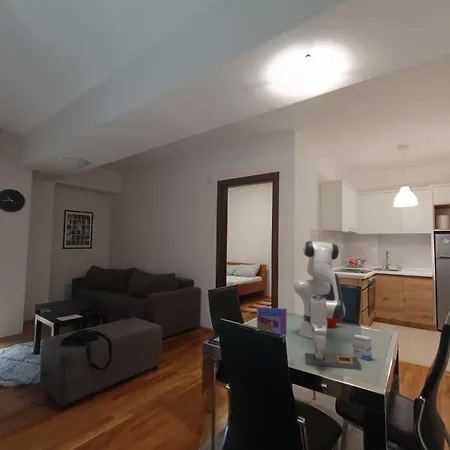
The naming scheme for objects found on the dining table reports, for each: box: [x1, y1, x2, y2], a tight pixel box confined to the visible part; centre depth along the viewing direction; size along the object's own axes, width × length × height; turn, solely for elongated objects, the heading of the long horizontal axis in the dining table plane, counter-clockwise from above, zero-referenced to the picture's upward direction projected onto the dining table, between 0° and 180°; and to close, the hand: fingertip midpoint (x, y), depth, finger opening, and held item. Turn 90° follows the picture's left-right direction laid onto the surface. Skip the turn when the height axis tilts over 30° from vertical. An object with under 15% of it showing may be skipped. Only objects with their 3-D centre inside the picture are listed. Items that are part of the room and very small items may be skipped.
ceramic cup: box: [327, 317, 344, 329], centre depth 231 cm, size 13×17×10 cm
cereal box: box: [256, 307, 287, 336], centre depth 179 cm, size 17×5×24 cm, turn 82°
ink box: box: [352, 334, 373, 362], centre depth 167 cm, size 9×5×12 cm, turn 45°
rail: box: [304, 353, 362, 371], centre depth 158 cm, size 10×27×3 cm, turn 79°
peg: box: [314, 342, 324, 360], centre depth 159 cm, size 4×4×10 cm
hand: (318, 352), depth 159 cm, fingers closed on peg, 4 cm apart
